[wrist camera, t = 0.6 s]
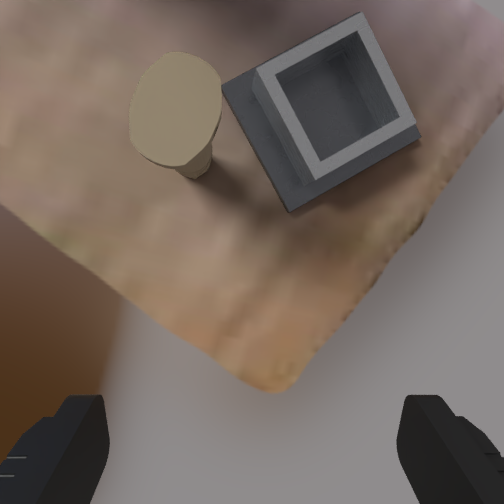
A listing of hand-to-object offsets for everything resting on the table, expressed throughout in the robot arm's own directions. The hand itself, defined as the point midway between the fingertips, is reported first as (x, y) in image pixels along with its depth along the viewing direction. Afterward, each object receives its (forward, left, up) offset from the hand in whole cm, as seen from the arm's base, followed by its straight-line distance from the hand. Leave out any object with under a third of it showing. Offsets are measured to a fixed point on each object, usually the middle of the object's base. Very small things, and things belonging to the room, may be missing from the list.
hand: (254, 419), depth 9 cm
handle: (-12, +3, -26) cm, 29 cm away
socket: (-10, +17, -26) cm, 33 cm away
